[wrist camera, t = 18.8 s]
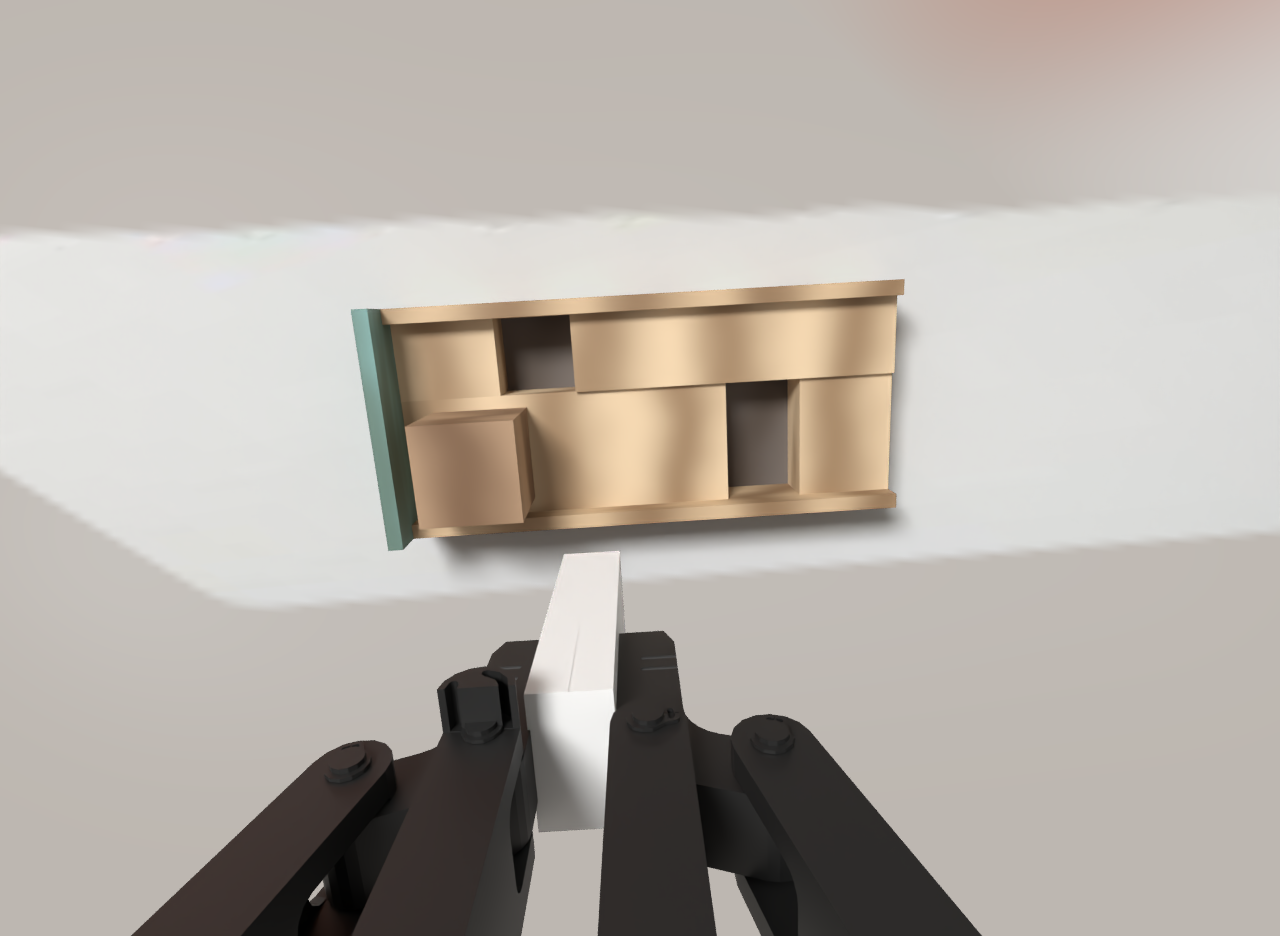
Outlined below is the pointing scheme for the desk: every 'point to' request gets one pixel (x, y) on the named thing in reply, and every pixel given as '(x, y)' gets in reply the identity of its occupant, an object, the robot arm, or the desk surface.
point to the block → (471, 467)
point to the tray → (649, 400)
